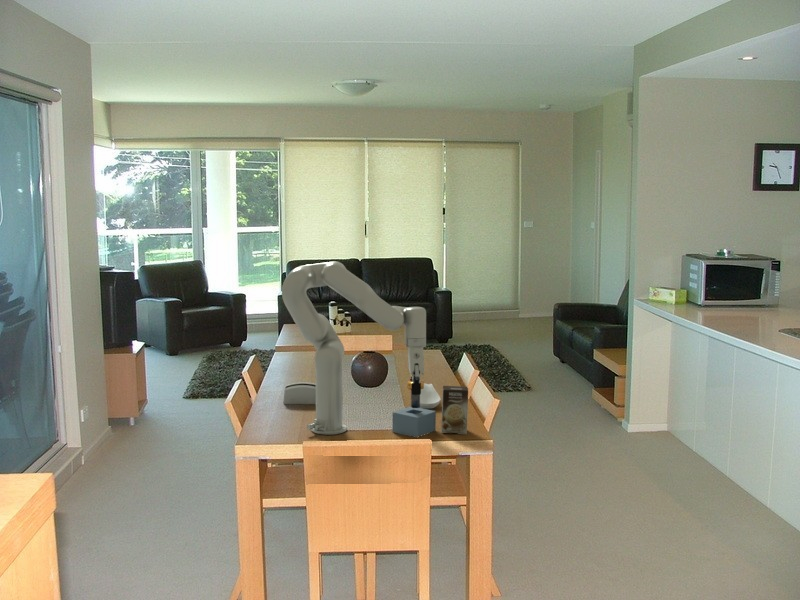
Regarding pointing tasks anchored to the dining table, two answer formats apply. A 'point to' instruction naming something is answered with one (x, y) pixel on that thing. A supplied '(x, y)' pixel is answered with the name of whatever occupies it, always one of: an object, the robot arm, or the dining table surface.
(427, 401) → the spoon rest
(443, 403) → the coffee box
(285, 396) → the grey slotted block
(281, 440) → the dining table surface
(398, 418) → the hitch block
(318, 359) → the robot arm
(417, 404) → the pin
